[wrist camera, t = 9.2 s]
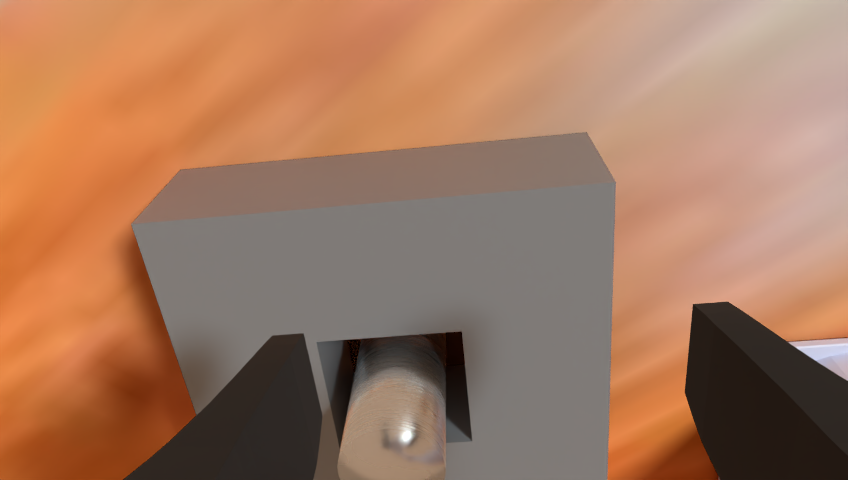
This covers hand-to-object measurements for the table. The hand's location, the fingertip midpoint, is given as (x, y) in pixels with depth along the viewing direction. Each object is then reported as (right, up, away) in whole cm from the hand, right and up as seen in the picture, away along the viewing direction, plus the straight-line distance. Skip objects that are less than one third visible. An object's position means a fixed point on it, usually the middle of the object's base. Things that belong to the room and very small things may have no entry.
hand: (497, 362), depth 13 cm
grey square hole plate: (-2, -1, +12) cm, 12 cm away
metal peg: (-2, -1, +12) cm, 12 cm away
